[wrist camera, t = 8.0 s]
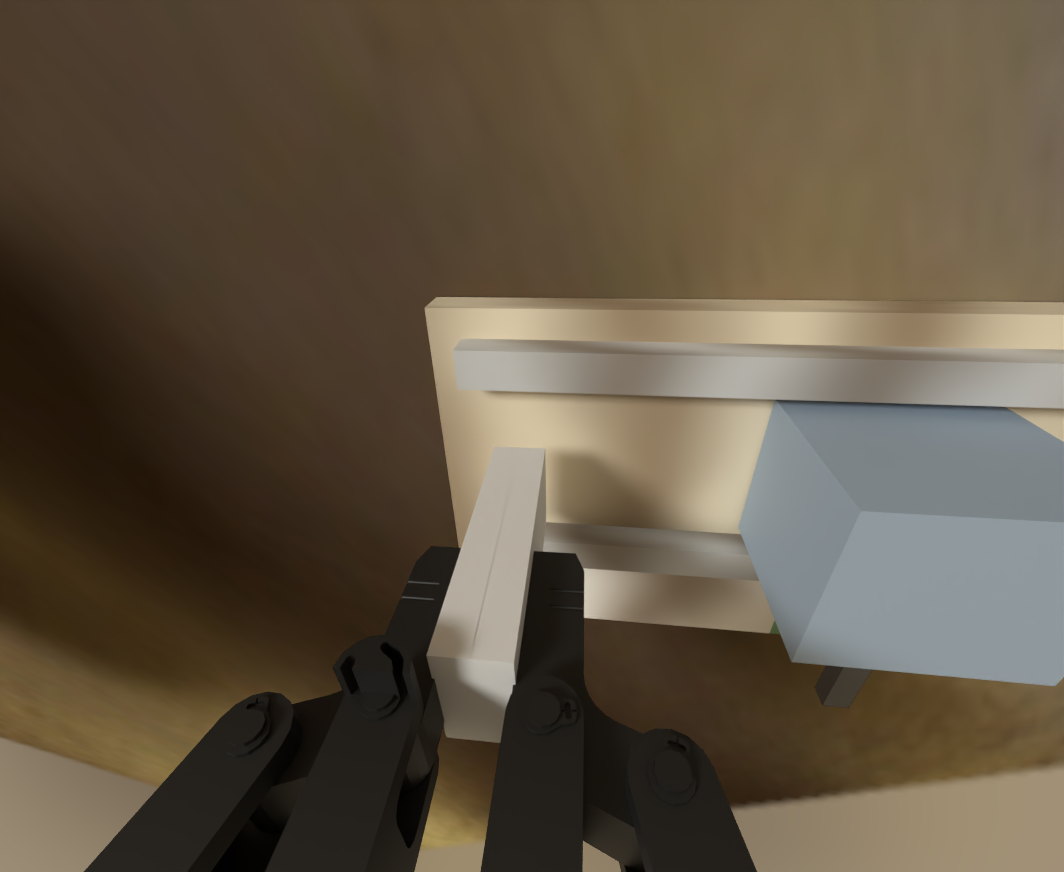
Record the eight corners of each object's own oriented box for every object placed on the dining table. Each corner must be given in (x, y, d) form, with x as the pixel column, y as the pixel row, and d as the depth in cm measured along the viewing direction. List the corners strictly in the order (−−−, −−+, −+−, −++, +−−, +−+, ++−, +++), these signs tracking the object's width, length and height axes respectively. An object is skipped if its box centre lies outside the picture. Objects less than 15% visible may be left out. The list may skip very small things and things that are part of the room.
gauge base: (473, 583, 21) (423, 758, 15) (437, 296, 14) (318, 401, 8) (1085, 631, 18) (1334, 871, 12) (1400, 305, 11) (2329, 472, 5)
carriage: (714, 608, 18) (752, 746, 14) (775, 398, 13) (860, 511, 9) (877, 621, 17) (969, 770, 13) (1002, 405, 13) (1212, 530, 8)
